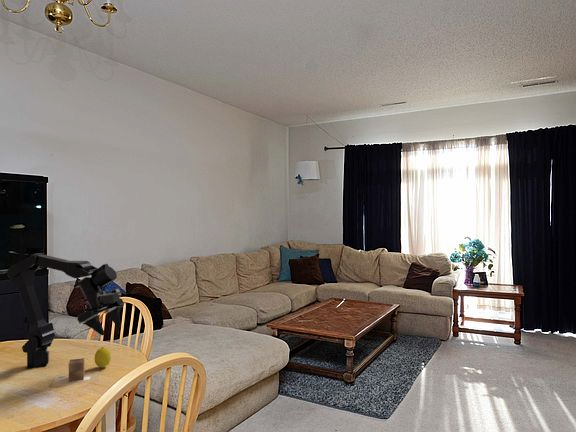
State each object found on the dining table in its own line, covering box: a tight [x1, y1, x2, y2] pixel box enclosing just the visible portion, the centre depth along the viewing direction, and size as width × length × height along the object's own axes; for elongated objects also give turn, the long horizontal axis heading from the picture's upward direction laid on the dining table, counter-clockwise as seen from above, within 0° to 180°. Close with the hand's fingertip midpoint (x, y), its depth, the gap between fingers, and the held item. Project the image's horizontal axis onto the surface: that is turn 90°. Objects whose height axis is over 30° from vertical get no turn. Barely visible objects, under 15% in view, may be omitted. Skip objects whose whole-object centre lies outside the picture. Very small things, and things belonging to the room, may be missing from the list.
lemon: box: [94, 346, 112, 369], centre depth 159 cm, size 6×6×8 cm
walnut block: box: [68, 357, 85, 382], centre depth 148 cm, size 4×4×6 cm
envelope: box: [51, 370, 100, 388], centre depth 148 cm, size 14×10×1 cm
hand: (111, 330), depth 156 cm, fingers open, 9 cm apart
